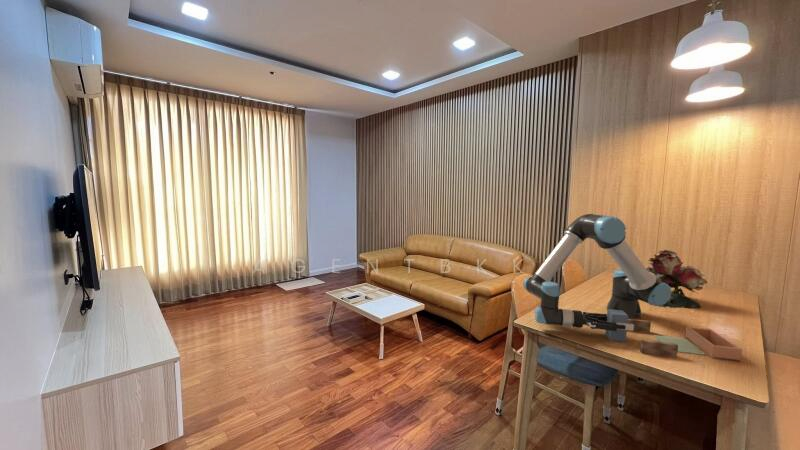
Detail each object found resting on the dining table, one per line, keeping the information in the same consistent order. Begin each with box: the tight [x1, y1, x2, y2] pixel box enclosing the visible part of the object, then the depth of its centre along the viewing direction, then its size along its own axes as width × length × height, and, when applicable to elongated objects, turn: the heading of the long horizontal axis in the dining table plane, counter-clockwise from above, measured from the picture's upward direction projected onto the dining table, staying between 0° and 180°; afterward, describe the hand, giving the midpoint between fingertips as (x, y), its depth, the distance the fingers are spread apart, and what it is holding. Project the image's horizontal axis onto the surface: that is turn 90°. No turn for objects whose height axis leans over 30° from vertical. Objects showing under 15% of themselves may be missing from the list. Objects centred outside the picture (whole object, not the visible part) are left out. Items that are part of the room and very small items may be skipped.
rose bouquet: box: [646, 249, 709, 309], centre depth 191 cm, size 26×29×30 cm
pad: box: [653, 334, 707, 356], centre depth 138 cm, size 12×14×1 cm
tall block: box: [605, 308, 629, 343], centre depth 143 cm, size 6×6×12 cm
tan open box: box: [685, 326, 742, 362], centre depth 135 cm, size 9×18×5 cm, turn 165°
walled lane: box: [627, 318, 679, 358], centre depth 141 cm, size 12×24×5 cm, turn 165°
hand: (629, 324), depth 142 cm, fingers closed on tall block, 6 cm apart
